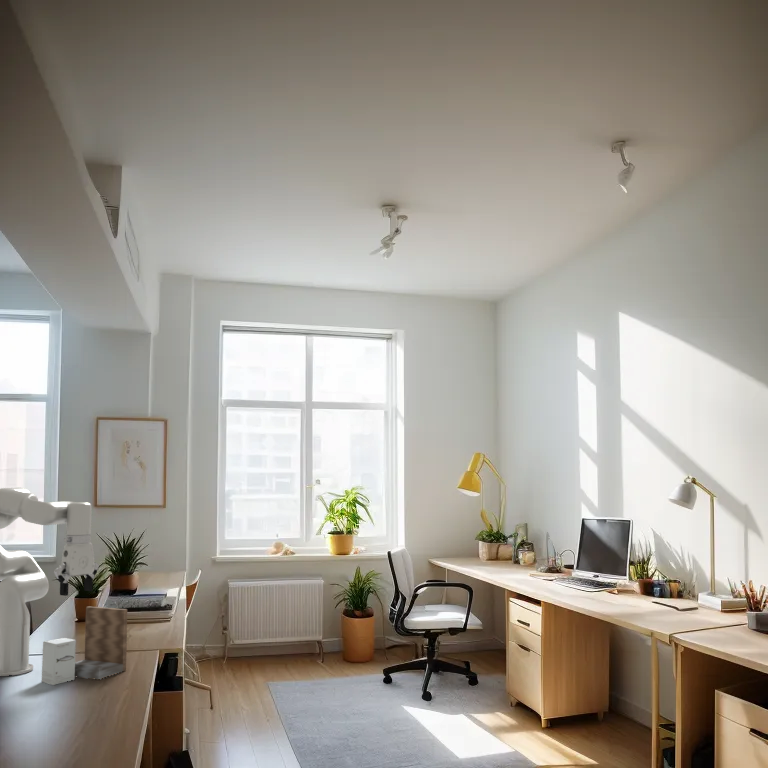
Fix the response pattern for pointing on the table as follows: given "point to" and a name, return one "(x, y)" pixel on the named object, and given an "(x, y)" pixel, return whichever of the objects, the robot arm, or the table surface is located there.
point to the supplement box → (58, 661)
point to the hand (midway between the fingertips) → (76, 593)
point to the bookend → (104, 643)
